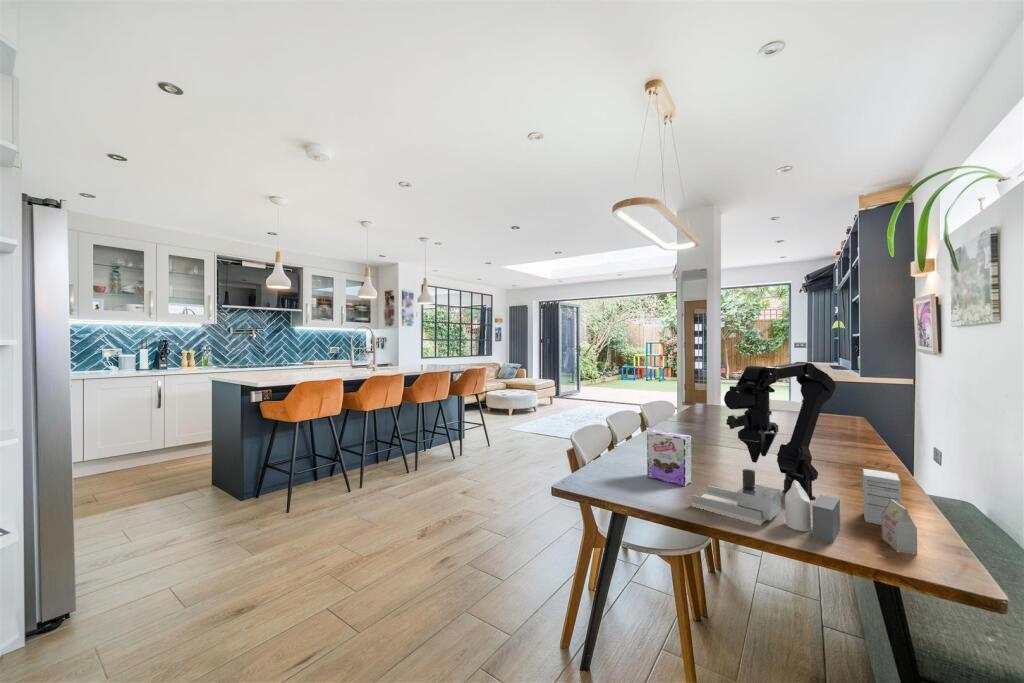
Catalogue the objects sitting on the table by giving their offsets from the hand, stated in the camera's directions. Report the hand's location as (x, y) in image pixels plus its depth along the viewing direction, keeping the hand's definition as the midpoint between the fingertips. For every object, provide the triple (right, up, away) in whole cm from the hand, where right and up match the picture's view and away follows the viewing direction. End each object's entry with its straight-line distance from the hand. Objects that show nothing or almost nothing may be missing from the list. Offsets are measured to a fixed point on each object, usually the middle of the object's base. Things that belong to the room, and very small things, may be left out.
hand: (759, 459), depth 124 cm
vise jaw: (-6, -11, -10) cm, 16 cm away
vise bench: (-6, -13, -10) cm, 17 cm away
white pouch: (0, -13, -16) cm, 21 cm away
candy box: (-19, -13, +20) cm, 31 cm away
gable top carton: (+17, -13, -27) cm, 34 cm away
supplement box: (+25, -13, -13) cm, 31 cm away
